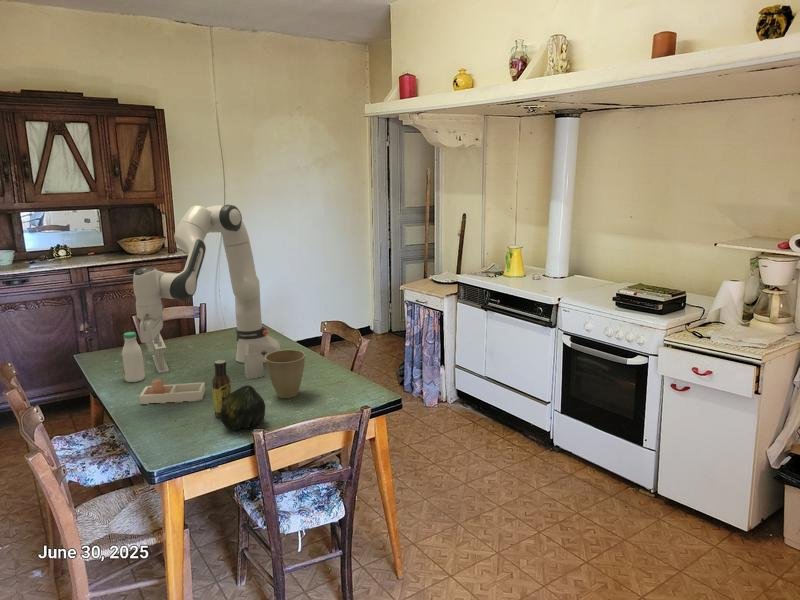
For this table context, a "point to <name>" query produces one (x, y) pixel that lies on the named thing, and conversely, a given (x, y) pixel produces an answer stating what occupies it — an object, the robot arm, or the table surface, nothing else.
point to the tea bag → (253, 366)
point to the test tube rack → (160, 356)
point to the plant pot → (285, 371)
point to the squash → (243, 408)
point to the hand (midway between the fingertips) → (154, 347)
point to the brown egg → (158, 386)
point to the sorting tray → (174, 393)
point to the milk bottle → (132, 359)
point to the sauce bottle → (220, 386)
